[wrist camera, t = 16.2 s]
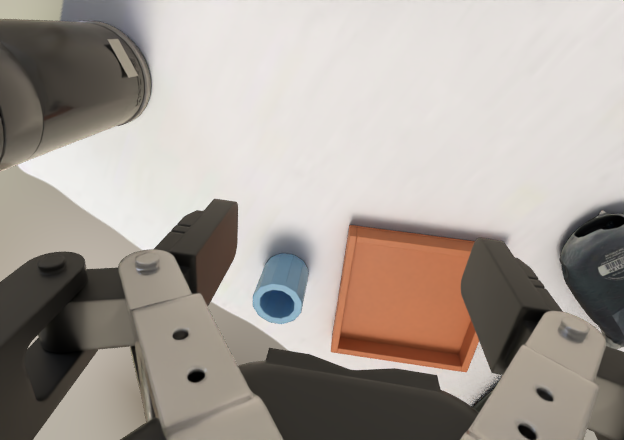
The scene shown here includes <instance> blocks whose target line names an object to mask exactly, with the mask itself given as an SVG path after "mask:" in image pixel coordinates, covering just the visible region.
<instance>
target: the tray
mask: <svg viewBox="0 0 624 440" xmlns="http://www.w3.org/2000/svg"><path fill="white" fill-rule="evenodd" d="M474 242H475V241H468V240H461V239H453V238H446V237H438V236H430V235H423V234H415V233H408V232H400V231H392V230H385V229H377V228H370V227H362V226H354V225H349V232H348V238H347V244H346V251H345V257H344V264H343V270H342V276H341V283H340V289H339V296H338V302H337V309H336V315H335V321H334V328H333V334H332V343H331V352H334V353H340V354H347V355H354V356H360V357H367V358H374V359H380V360H387V361H394V362H400V363H407V364H414V365H420V366H427V367H434V368H441V369H447V370H454V371H461V372H467V370H468V368H469V365H470V363H471V360H472V358H473V355H474V352H475V350H476V347H477V345H478V342H479V339H478V336H477V334H476V331H475V329H474V326H473V323H472V321H471V318H470V316H469V313H468V311H467V308H466V306H465V303H464V300H463V298H462V295H461V279H462V276H463V273H464V270H465V267H466V264H467V261H468V259H469V256H470V253H471V250H472V247H473V244H474Z"/></svg>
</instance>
